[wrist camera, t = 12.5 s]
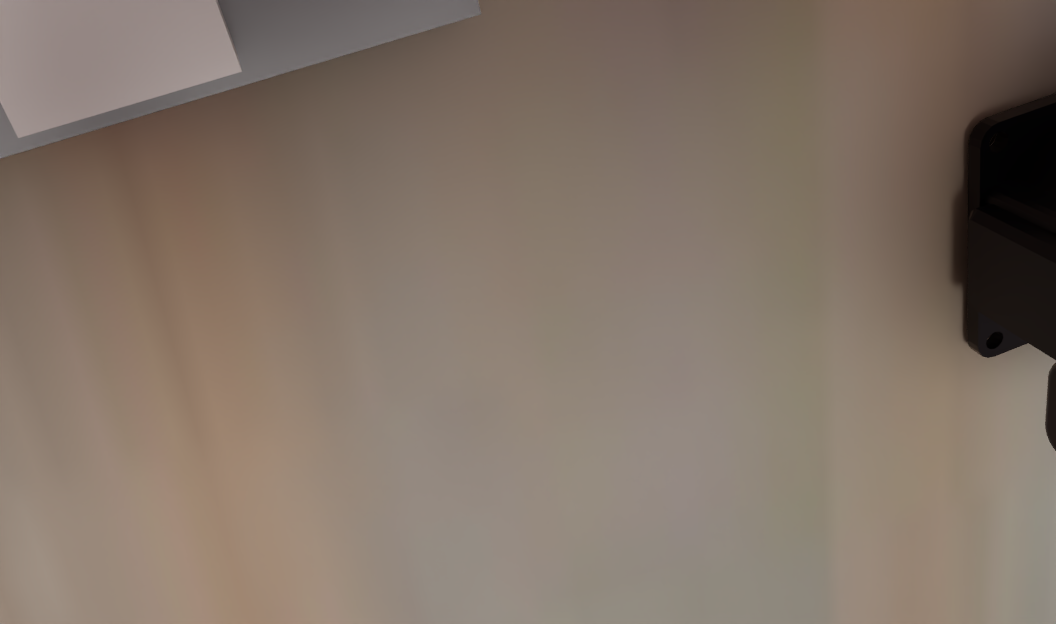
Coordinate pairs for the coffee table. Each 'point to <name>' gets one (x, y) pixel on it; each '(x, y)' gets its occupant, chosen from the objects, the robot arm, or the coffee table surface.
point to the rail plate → (173, 53)
